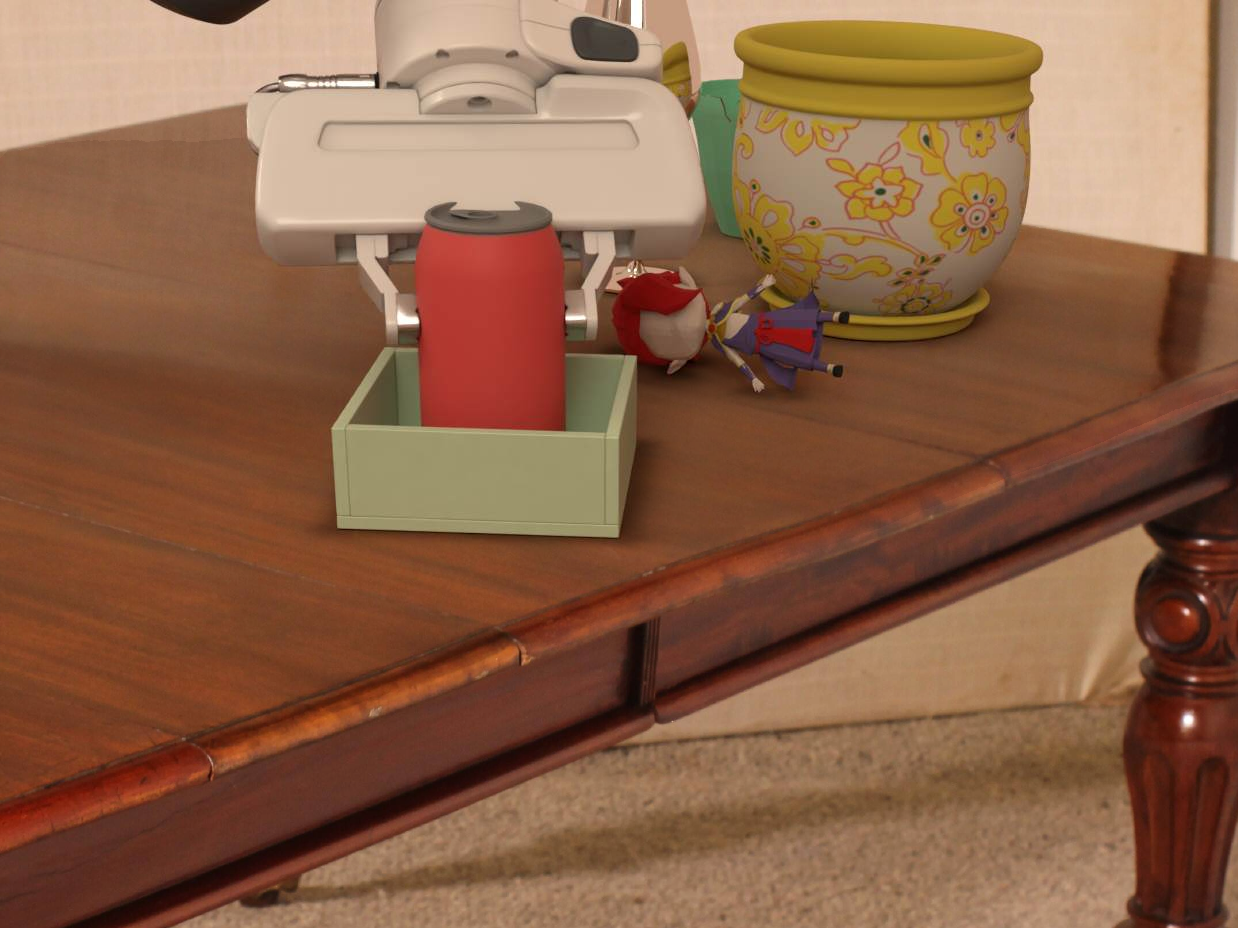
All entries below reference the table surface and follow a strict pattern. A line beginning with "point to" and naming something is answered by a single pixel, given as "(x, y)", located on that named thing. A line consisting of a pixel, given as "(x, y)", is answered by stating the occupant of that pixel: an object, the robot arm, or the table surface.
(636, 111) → the robot arm
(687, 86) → the wineglass
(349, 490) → the tub
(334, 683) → the table surface
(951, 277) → the flowerpot
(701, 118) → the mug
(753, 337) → the figurine
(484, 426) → the beer can
